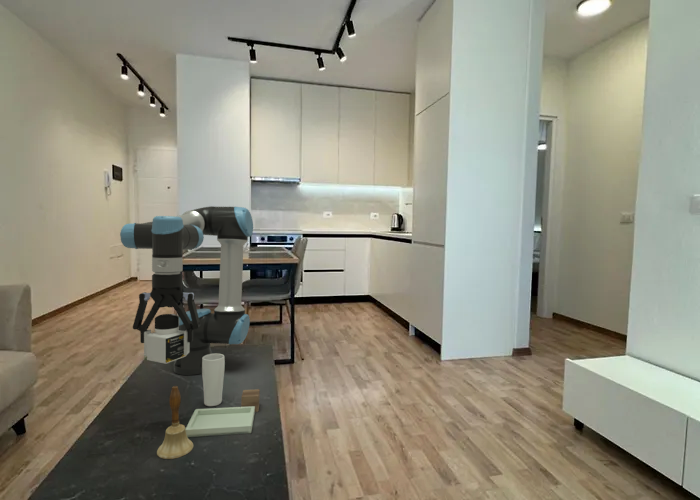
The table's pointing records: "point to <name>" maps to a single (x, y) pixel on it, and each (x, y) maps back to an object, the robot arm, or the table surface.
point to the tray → (221, 421)
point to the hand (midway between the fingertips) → (167, 354)
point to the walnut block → (250, 398)
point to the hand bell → (175, 432)
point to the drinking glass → (213, 378)
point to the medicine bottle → (165, 340)
